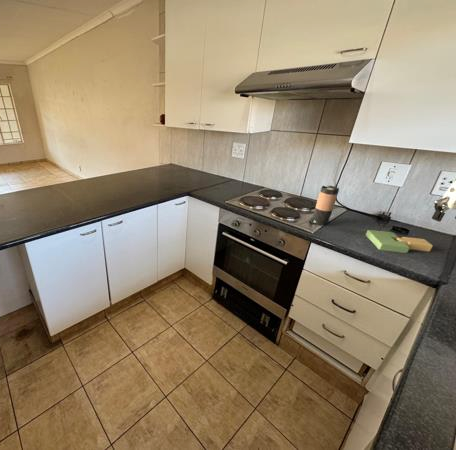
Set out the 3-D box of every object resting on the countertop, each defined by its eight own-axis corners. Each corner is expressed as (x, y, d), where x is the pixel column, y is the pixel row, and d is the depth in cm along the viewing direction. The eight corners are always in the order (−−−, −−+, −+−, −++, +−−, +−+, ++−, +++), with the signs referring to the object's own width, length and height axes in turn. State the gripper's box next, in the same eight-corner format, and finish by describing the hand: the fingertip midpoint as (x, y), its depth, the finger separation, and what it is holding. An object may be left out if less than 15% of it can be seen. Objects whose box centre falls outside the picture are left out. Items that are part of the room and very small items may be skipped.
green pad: (390, 237, 118) (392, 232, 117) (407, 253, 106) (410, 247, 105) (365, 235, 121) (367, 229, 120) (379, 249, 109) (382, 244, 108)
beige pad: (420, 244, 112) (424, 239, 111) (429, 251, 107) (432, 245, 106) (392, 241, 115) (395, 236, 114) (400, 248, 110) (402, 242, 109)
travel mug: (324, 227, 129) (336, 191, 120) (308, 222, 134) (319, 187, 125) (329, 223, 133) (341, 187, 124) (314, 218, 138) (324, 184, 129)
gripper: (458, 183, 92) (435, 224, 100) (505, 182, 92) (478, 223, 99) (438, 177, 98) (418, 216, 106) (481, 177, 98) (458, 215, 106)
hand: (447, 219), depth 103 cm, fingers open, 9 cm apart
